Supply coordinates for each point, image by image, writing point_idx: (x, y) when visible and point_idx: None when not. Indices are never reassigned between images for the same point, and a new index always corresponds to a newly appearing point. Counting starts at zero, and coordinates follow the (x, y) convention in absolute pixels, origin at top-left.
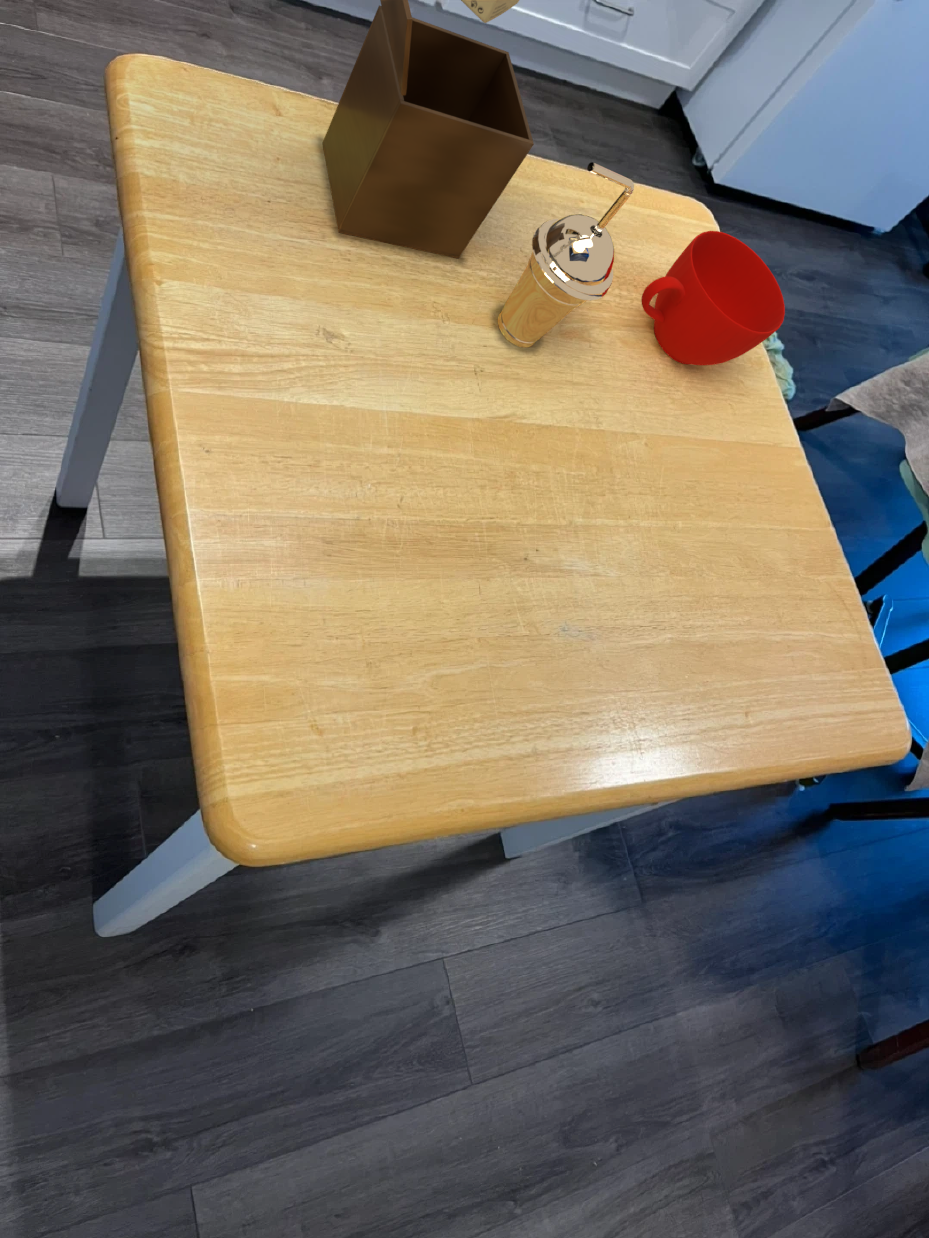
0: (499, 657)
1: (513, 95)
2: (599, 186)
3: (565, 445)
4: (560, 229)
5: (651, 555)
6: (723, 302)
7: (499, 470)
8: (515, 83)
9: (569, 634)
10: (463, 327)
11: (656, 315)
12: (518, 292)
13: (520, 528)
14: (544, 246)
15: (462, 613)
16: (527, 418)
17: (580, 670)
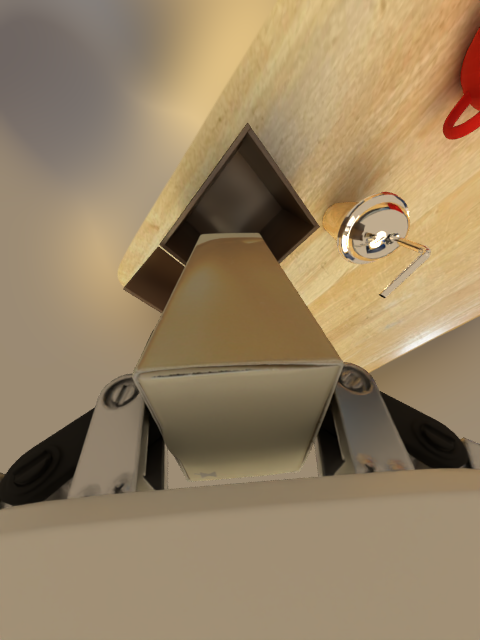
0: (363, 346)
1: (280, 180)
2: None
3: (379, 260)
4: (358, 250)
5: (434, 273)
6: None
7: (347, 298)
8: (276, 168)
9: (389, 326)
10: (307, 249)
11: (461, 113)
12: (333, 237)
13: (362, 310)
14: (348, 252)
15: (348, 345)
16: (355, 265)
17: (395, 332)
